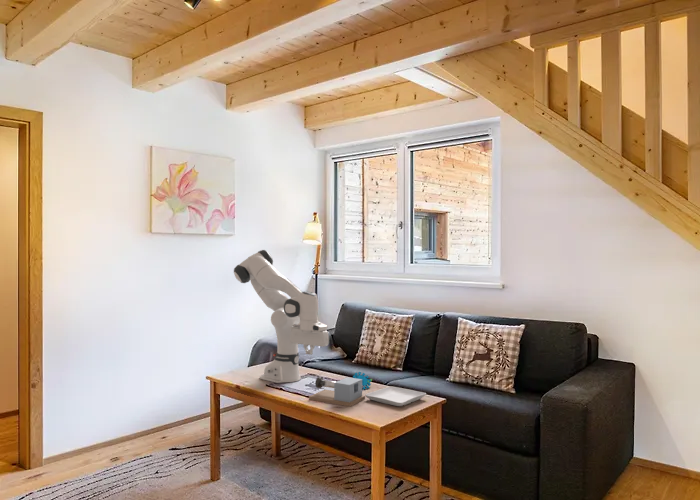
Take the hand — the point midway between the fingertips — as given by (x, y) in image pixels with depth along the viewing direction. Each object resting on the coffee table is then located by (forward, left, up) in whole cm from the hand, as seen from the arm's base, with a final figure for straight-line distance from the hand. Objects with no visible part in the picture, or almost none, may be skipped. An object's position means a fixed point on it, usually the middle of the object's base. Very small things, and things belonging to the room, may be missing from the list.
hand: (309, 354), depth 254 cm
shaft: (+12, 0, -15) cm, 20 cm away
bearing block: (+16, 0, -19) cm, 25 cm away
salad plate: (+40, +13, -20) cm, 46 cm away
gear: (+17, +24, -20) cm, 35 cm away
